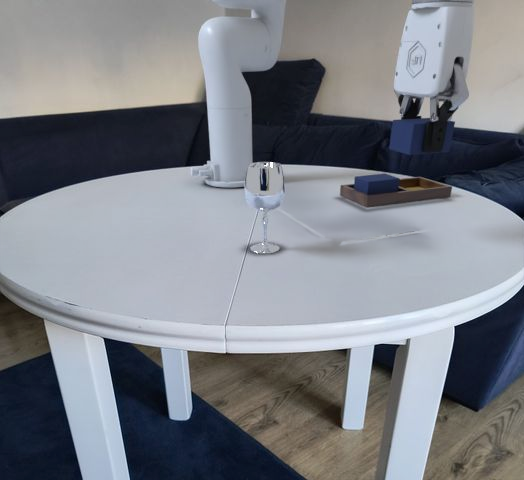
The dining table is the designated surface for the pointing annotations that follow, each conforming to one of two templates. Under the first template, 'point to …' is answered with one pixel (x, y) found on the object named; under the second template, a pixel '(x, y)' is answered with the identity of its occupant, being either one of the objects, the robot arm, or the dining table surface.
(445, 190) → the wooden compartment tray
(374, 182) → the blue block
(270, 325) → the dining table surface
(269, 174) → the wineglass
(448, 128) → the blue rectangular block
